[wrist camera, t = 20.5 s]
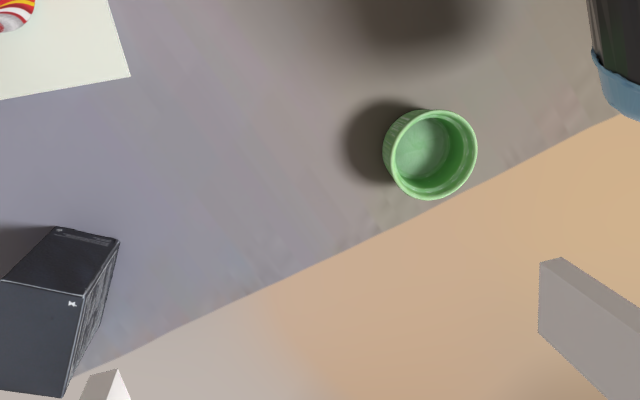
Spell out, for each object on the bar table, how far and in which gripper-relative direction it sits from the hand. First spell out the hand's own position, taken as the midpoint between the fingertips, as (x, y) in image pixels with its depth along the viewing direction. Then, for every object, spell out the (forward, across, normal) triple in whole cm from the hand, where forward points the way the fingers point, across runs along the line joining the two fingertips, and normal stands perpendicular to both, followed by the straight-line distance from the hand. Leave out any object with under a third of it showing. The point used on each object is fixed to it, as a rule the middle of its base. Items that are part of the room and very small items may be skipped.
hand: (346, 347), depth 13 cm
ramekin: (+32, +15, -4) cm, 36 cm away
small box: (+32, -22, -10) cm, 40 cm away
